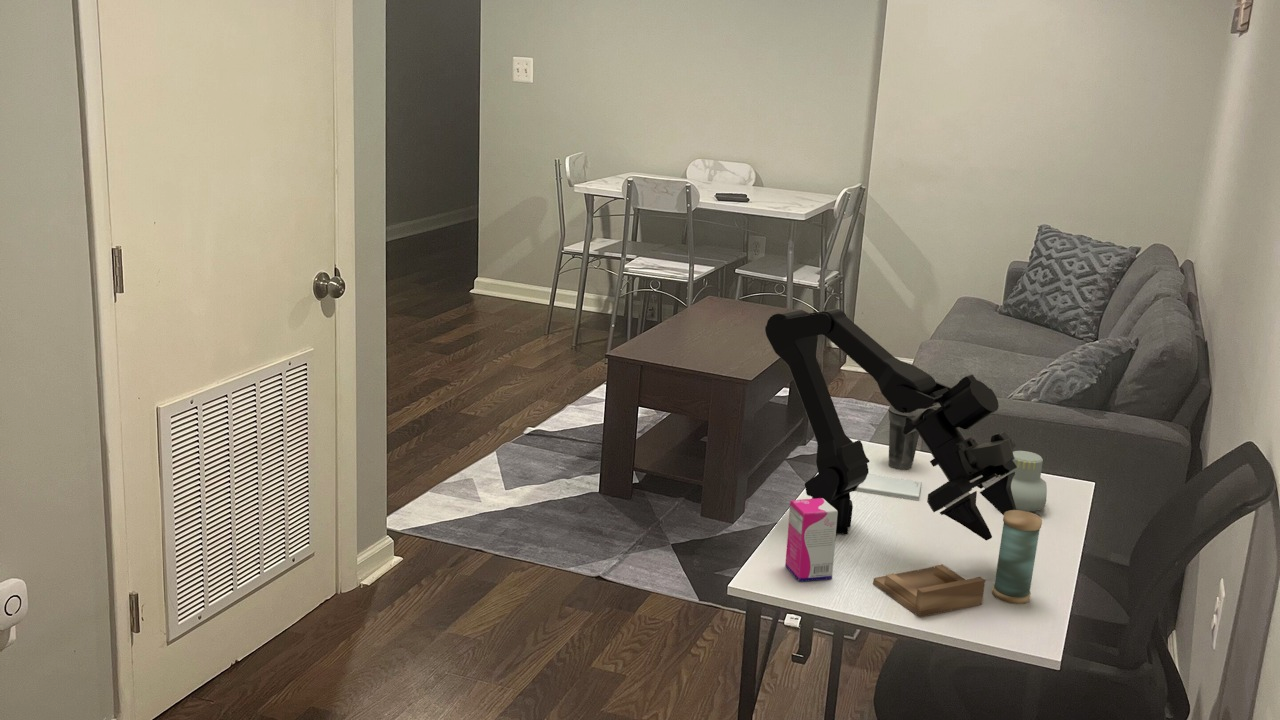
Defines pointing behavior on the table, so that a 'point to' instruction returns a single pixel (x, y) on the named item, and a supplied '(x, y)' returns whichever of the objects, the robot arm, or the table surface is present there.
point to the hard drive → (890, 487)
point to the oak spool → (1016, 556)
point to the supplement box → (811, 539)
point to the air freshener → (1028, 482)
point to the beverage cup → (901, 440)
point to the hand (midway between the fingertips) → (1003, 530)
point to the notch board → (932, 590)
